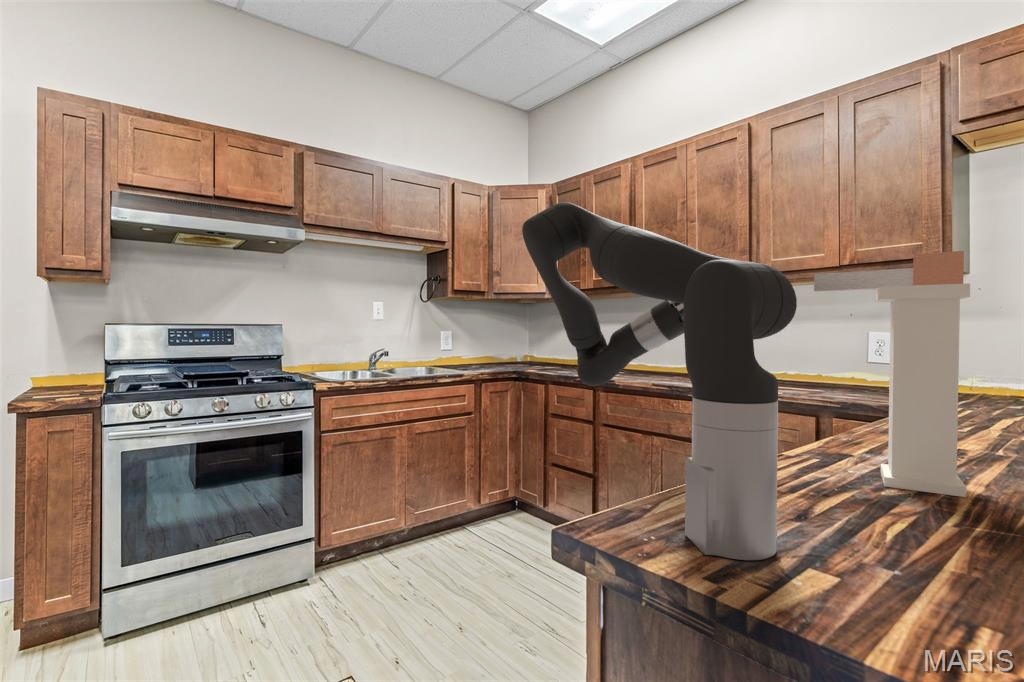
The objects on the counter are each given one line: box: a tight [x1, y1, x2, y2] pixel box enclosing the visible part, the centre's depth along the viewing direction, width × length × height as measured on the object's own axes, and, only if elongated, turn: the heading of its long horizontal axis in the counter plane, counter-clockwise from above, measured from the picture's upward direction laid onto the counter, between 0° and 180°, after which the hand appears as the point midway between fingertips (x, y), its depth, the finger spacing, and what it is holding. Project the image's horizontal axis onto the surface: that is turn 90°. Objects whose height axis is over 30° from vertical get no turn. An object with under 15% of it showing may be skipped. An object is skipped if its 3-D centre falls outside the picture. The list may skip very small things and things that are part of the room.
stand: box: [875, 283, 971, 498], centre depth 85 cm, size 11×10×32 cm
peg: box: [813, 250, 965, 293], centre depth 87 cm, size 20×6×5 cm, turn 50°
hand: (735, 281), depth 97 cm, fingers open, 8 cm apart
